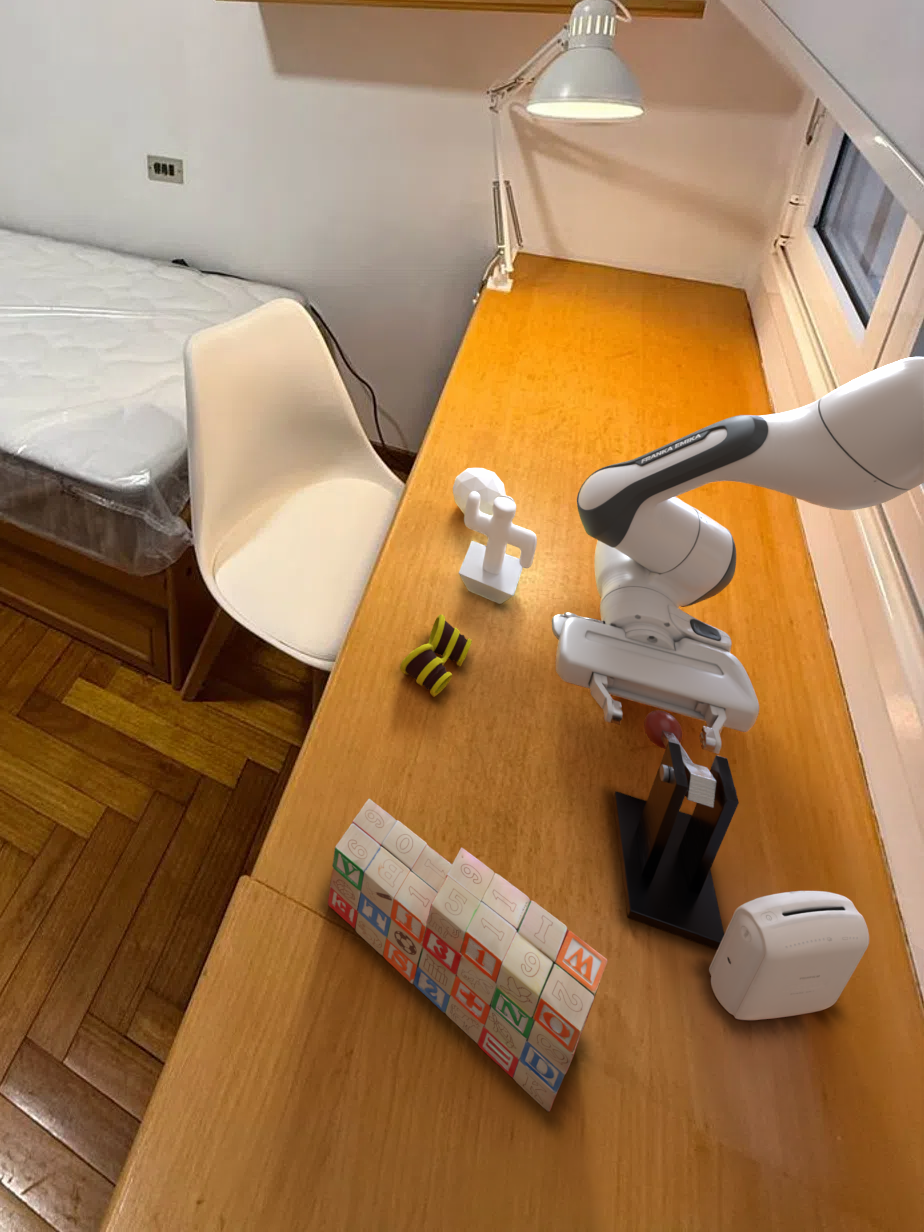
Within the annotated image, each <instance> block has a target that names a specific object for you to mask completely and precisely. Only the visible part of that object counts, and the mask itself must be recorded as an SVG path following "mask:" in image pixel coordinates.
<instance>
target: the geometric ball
mask: <svg viewBox="0 0 924 1232" xmlns="http://www.w3.org/2000/svg"><path fill="white" fill-rule="evenodd" d="M473 491H475V492H478V493H479V494H480V497H481V499H480V505H479V510H480V511H481V512H482V513H485V514H487V515H493V511H492V508H493V503H494V500H495V499H496V498H497V497H499V496H500V495H507V494H506V489H505V484H504V482H503V481H502V480H501V478H500V477H499V476H498V475H497V474H496V472H495V471H492V470H488V469H487V468H483V467H467V468H466V469H464V470H463V471H462V472H460V473H459V474H458V475H457V476H456V477H455V479H454V483H453V486H452V494H453V495H452V496H453V500H454V503H455V505H456V506H457V507H458V508H459V510H460V511H461V512H462V513H463V516H464V515H465V509H466V504H467V499H468V496H469V494H470V493H471V492H473Z"/></svg>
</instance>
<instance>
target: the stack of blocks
mask: <svg viewBox="0 0 924 1232" xmlns="http://www.w3.org/2000/svg"><path fill="white" fill-rule="evenodd" d="M332 859H333V860H332V871H331V876H330V882H329V883H330V885H329V886H330V888H329V893H328V899H327V905H328V906H329V907H330V908H331V909H332V910H333V911H334V912H335V913H337V915H339V917H341V918H342V919H343V920H344V921H345V922H346V923H347V924H348V925H350V926H351V927H352V929H354V930H355V932H356V933H357V934H358V935H359V937H361V938H362V939H363V940H364V941H365V942H366V943H367V944H369V945H370V946H371V947H372V948H373V949H374V950H375V951H376V952H377V953H378V954H379V955H381V956H382V957H383V958H384V960H386V961H387V963H389V964H390V965H391V966H392V967H393V968H394V969H395V971H396V972H398V973H399V974H400V975H401V976H402V977H403V978H405V979H406V981H408V982H409V984H412V985H413V986H414V987H415V988H416V989H418V991H420V992H421V993H422V994H423V995H424V996H425V997H426V998H427V999H429V1001H430V1002H432V1004H434V1006H436V1008H438V1009H439V1010H440V1011H441V1012H442V1013H444V1014H445V1015H446V1016H447V1017H448V1018H449V1019H450V1020H451V1021H452V1022H453V1023H454V1024H455V1025H456V1026H457V1027H459V1028H460V1029H461V1030H462V1031H463V1032H464V1033H465V1034H466V1035H467V1036H468V1037H469V1038H470V1039H471V1040H472V1041H474V1042H475V1043H476V1044H477V1046H478V1047H479V1048H480V1049H481V1050H482V1051H483V1052H484V1054H486V1055H487V1056H488V1057H489V1058H490V1059H491V1060H492V1061H493V1062H494V1063H496V1065H498V1066H499V1067H500V1068H501V1069H502V1071H504V1072H505V1073H506V1074H507V1075H508V1076H509V1077H510V1078H512V1079H513V1080H514V1081H515V1082H516V1084H518V1085H519V1087H521V1088H522V1090H523V1091H525V1092H526V1093H527V1094H528V1095H529V1096H530V1097H531V1098H532V1099H533V1100H534V1101H536V1102H537V1104H538V1105H540V1106H541V1107H542V1108H543V1109H544V1110H546V1112H548V1113H549V1112H551V1109H552V1108H553V1104H554V1102H555V1100H556V1097H557V1094H558V1091H559V1089H560V1087H561V1085H562V1083H563V1080H564V1078H565V1075H566V1074H567V1073H568V1070H569V1068H570V1065H571V1062H572V1061H573V1058H574V1055H575V1053H576V1050H577V1047H578V1044H579V1041H580V1039H581V1036H582V1033H583V1031H584V1029H585V1026H586V1023H587V1021H588V1018H589V1015H590V1012H591V1010H592V1007H593V1004H594V1002H595V998H596V995H597V992H598V990H599V987H600V983H601V980H602V977H603V974H604V972H605V969H606V966H607V964H608V959H607V958H606V957H604V955H602V954H601V953H599V952H598V951H597V950H595V948H593V947H592V946H590V944H588V943H587V942H586V941H584V940H583V939H582V938H581V937H580V936H578V935H577V934H575V933H574V932H572V930H569V929H568V926H567V925H566V924H564V923H563V922H562V921H561V920H560V919H558V918H557V917H555V916H554V915H553V914H551V913H550V912H548V910H546V909H545V908H543V907H542V906H541V905H539V904H538V903H537V902H536V901H534V900H530V897H529V896H528V895H527V894H525V893H524V892H523V891H521V890H520V889H519V888H517V887H516V886H514V884H513V883H511V882H509V881H508V880H507V879H506V878H504V877H503V876H502V875H500V874H499V873H496V872H494V870H493V869H492V868H490V867H489V866H487V865H486V864H485V863H484V862H483V861H481V860H480V859H479V858H476V857H475V855H473V854H472V853H470V852H469V851H467V850H466V849H465V848H463V847H460V849H459V851H458V853H457V855H456V857H455V858H454V860H453V861H452V863H451V862H450V861H449V860H447V858H445V857H443V856H442V855H441V854H440V853H439V852H437V851H436V850H435V849H434V848H432V846H430V845H428V844H427V842H426V841H425V840H424V839H422V838H421V837H420V836H419V835H417V834H416V833H415V832H414V831H412V830H411V829H410V828H409V827H407V826H406V825H405V824H404V823H402V822H401V821H400V820H398V819H397V820H396V818H395V817H393V816H392V815H391V814H390V813H388V812H387V811H386V810H385V809H383V808H382V807H381V806H380V805H378V804H377V803H376V802H375V801H373V800H372V799H371V798H368V799H367V800H366V802H365V803H364V804H363V806H362V807H361V808H360V810H359V812H358V813H357V814H356V816H355V817H354V819H353V820H352V822H351V823H350V825H349V827H348V828H347V829H346V830H345V832H344V833H343V835H342V836H341V838H340V839H339V841H337V843H336V845H335V847H334V851H333V858H332Z"/></svg>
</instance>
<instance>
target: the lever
mask: <svg viewBox="0 0 924 1232" xmlns="http://www.w3.org/2000/svg"><path fill="white" fill-rule="evenodd" d="M643 729H644V730H643V731H644V733H645V735H646V737H647V738H648V740H649V741H650V742H651V743H652V744H653V745H654V746H656V747H658V748H660V749H661V750H662V749H663V750H665V749H666V747H667V744H668V741H670V742H673V743H677V744H679V745H680V749H681V754H682V758H683V763H684V768H685V773H686V778H687V782H688V790H687V792H686V795H685V798H686V800H688V801H690V802H693V803H695V804H696V803H699V804H702V805H706V806H709V807H712V808H714V803H715V794H716V785H717V781H716V779H715V778H714V777H713V775H712V774H711V772H710V769H709V767H707V766H704V765H701V764H697V763H694V762H693V760H692V759H691V758H690V755H688V753H687V752H686V750H685V749H684V746H683V745H682V744H681V743H682V740H683V735H684V734H683V728H682V726H681V724H680V722H679V720H677V718H675V717H674V715H672V714H671V713H669V712H667V711H666V710H661V709H660V710H653V711H650V712H649V713H647V715H646V716H645V717H644V720H643Z"/></svg>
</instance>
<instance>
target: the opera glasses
mask: <svg viewBox="0 0 924 1232" xmlns="http://www.w3.org/2000/svg"><path fill="white" fill-rule="evenodd" d="M472 643H473V640H472V638H469V637H468V638H466V637H465V635H464V634H461V631H460V630H459V629H458V628H457V627H456V626H455V627H454V626H452V624H450V623H449V622H448V621H446V616H445V615H444V614H441V613H440V614H438V615H437V617H436V618H435V620H434V622H433V624H432V627H431V631H430V635H429V639H428V642H427V643H424V644H421V645H419V646H418V647H416V648H414V649H413V650H412V651H411V652H409V653H408V654H407V655H406V656H405V657H404V658H403V660H402V661H401V663H400V665H399V670H400V672H401V673H402V674H403V675H409V676H410V677H412V678H413V679H414V680H416V681H415V682H416V683H417V684H418V685H419V686H421V687H424V689H425V690H429V693H430V695H431V696H432V697H433V698H435V697H436V696H437V695H439V694H440V693H441V692H442V691H443V690H444V689H445V688H446V687H447V686H448V684H450V682H451V680H452V679H453V674H452V673H451V672H450V671H447V668H446V666H444V665H445V664H446V662H447V661H448V660H450V661H451V662H456V665H457V666H459V667H461V666H462V665H463V663H464V661H465V659H466V657H467V655H468V653H469V650H470V648H471V645H472ZM437 655H438V656H437Z"/></svg>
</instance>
